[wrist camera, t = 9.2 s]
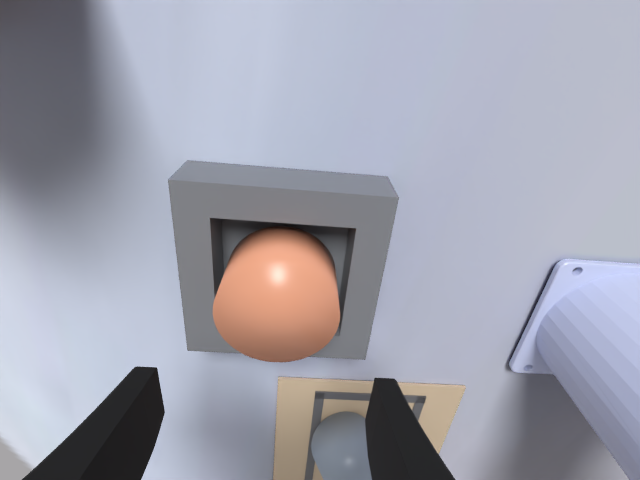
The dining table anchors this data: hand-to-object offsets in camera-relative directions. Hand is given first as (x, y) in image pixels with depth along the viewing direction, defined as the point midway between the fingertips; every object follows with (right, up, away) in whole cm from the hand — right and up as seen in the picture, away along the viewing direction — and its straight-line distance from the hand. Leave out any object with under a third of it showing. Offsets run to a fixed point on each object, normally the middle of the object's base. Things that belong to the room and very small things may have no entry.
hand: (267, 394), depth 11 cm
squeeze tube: (+4, -11, +16) cm, 20 cm away
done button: (0, +3, +6) cm, 7 cm away
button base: (0, +4, +7) cm, 8 cm away
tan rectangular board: (+4, -11, +16) cm, 20 cm away
